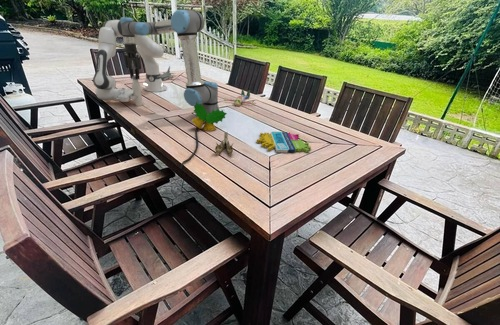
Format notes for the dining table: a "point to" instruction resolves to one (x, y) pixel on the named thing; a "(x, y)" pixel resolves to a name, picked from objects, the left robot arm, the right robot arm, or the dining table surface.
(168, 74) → the airplane
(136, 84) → the bottle
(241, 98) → the toy
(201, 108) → the ornament
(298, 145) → the packaged gardening gloves
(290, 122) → the dining table surface
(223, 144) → the jawbone
